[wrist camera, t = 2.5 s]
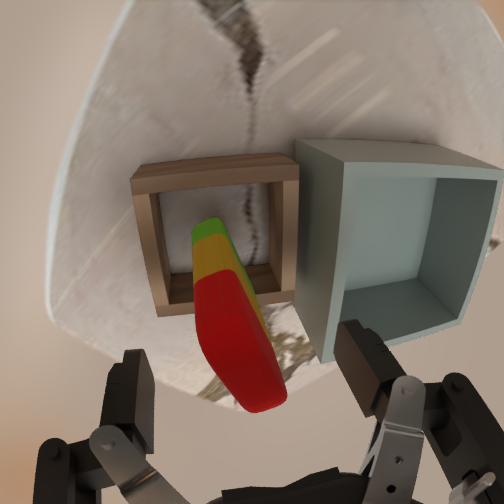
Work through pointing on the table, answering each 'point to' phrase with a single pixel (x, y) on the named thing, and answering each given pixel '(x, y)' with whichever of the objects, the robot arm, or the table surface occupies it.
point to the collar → (209, 175)
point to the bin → (389, 237)
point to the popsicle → (232, 321)
